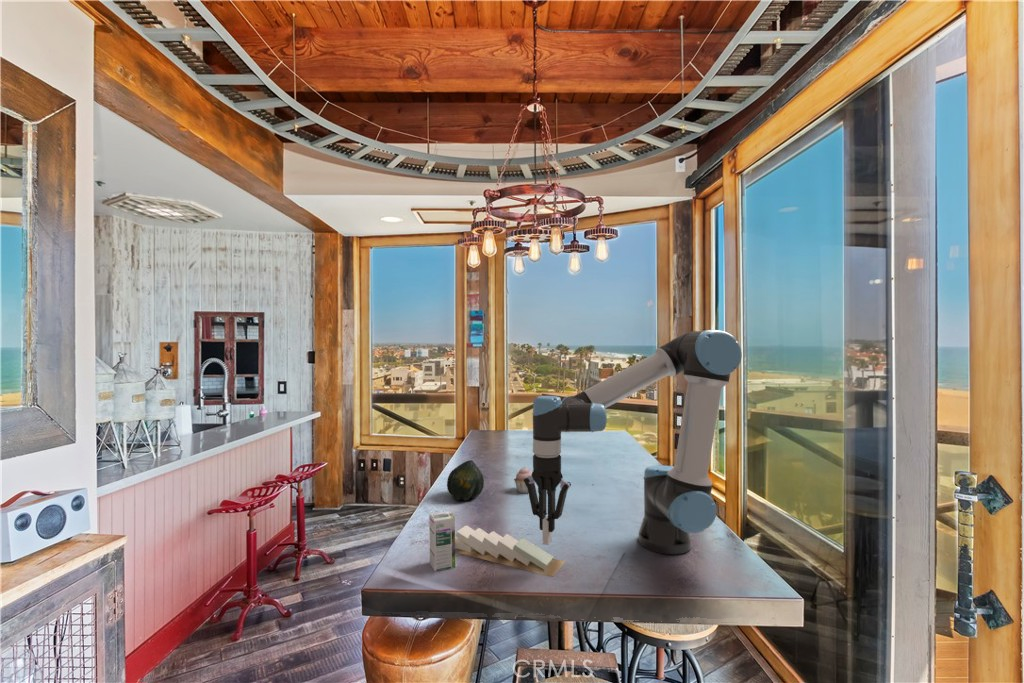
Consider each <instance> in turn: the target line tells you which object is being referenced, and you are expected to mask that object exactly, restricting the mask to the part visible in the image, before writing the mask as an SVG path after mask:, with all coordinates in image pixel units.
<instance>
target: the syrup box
mask: <svg viewBox="0 0 1024 683" xmlns="http://www.w3.org/2000/svg"><path fill="white" fill-rule="evenodd" d="M428 517H429V519H428V521H429V522H428V523H429V524H428V525H429V563H430V566H431V567H432V569H433V571H434V572H440V571H444V570H445V571H446V570H450V569H454V568H456V548H455V534H456V519H455V518H456V517H455V515H454V514H453V513H452V512H451V511H450V510H447V511H442V512H441V511H440V512H436V513H430V514H429V516H428Z"/></svg>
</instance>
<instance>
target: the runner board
mask: <svg viewBox="0 0 1024 683" xmlns="http://www.w3.org/2000/svg"><path fill="white" fill-rule="evenodd" d="M456 553H457V554H460V555H461V554H462V555H465V556H469V557H472V558H477V559H481V560H484V561H485V560H486V561H488V562H493V563H497V564H501V565H503V566H508V567H512V568H517V569H521V570H525V571H528V572H532V573H536V574H541V575H543V576H548V577H552V578H553V577H554V576H556V574H557V573H558V572H559V570H560V569H561V568H562V566H563V565H564V564H565V563H566V561H565V560H562V559H561V560H560V559H557V558H553V561H552V563H551V564H550V565H549V566H548V567H547V568H546V570H543V569H542V568H540V567H539V566H537V565H536V564H534V563H532V562H531V563H530V564H529V565H528V566H527V565H525V564H524V563H522V562H521V561H519V560H517V559H515V560H514V561H513V562H511V561H510V560H508V559H507V558H505V557H504V556H502V555H500V556H499V557H498V558H496V557H494V556H493V555H491V554H490V553H488V552H487V553H485V554H484V555H482V554H481V553H479V552H478V551H476V550H475V549H474V550H472V551H471V552H469V551H465V550H461V549H457V550H455V554H456Z"/></svg>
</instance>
